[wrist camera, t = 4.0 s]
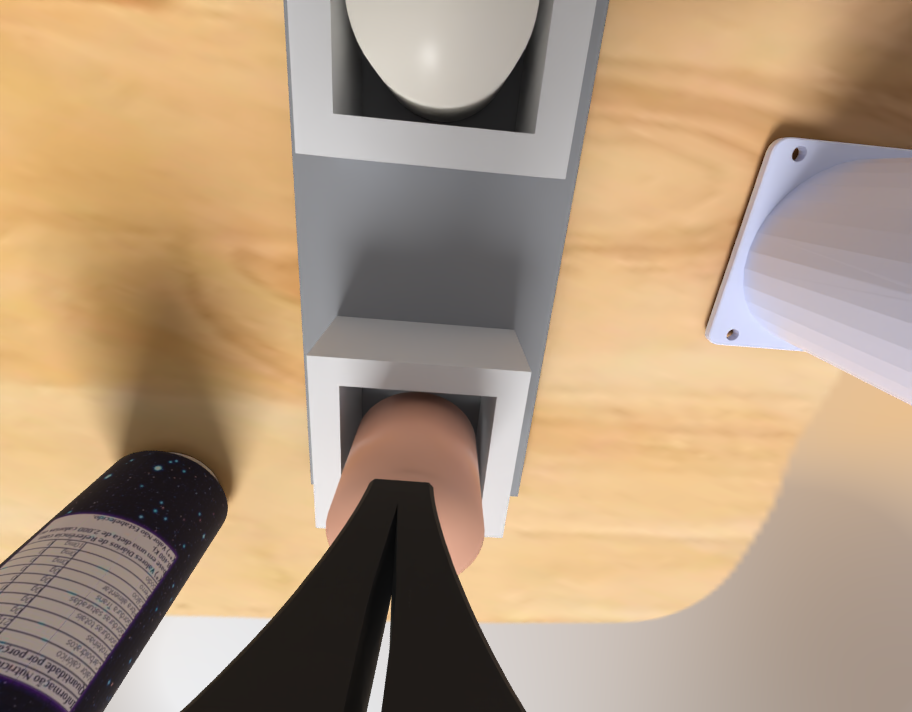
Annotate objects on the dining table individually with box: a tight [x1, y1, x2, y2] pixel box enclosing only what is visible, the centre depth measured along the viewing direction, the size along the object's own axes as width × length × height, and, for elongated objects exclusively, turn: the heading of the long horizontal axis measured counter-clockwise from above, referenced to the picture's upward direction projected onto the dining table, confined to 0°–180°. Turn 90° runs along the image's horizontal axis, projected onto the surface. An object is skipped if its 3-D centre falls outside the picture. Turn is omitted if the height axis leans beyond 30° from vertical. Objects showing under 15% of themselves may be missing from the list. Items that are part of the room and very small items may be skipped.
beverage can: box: [0, 451, 228, 712], centre depth 16 cm, size 6×6×12 cm
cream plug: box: [345, 0, 539, 122], centre depth 12 cm, size 4×4×4 cm
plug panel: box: [284, 0, 609, 538], centre depth 15 cm, size 10×23×5 cm, turn 175°
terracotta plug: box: [326, 392, 485, 575], centre depth 14 cm, size 4×4×4 cm
